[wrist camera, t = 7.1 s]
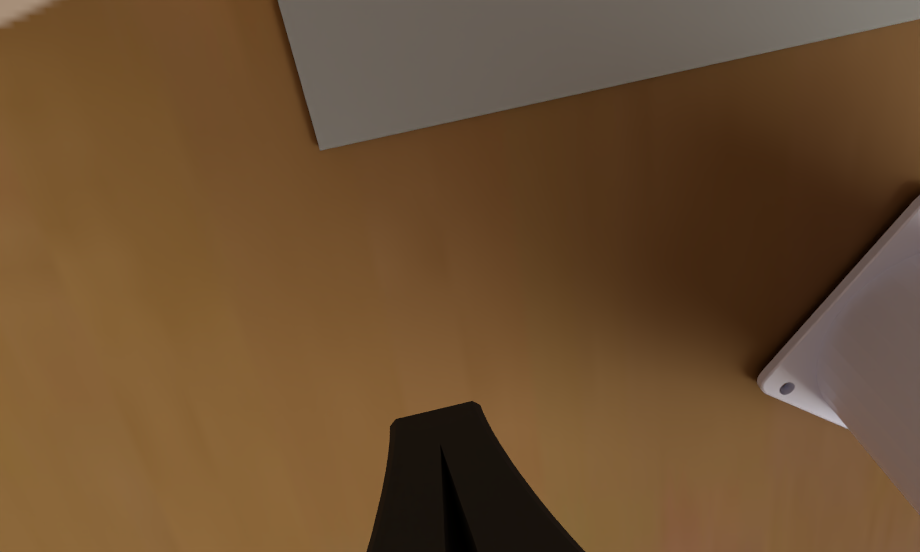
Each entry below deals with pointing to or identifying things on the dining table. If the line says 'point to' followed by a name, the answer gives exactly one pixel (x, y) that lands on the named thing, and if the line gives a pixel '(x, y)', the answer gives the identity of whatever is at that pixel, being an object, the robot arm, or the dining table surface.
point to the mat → (528, 50)
